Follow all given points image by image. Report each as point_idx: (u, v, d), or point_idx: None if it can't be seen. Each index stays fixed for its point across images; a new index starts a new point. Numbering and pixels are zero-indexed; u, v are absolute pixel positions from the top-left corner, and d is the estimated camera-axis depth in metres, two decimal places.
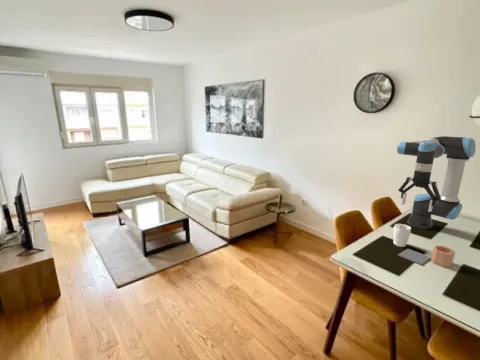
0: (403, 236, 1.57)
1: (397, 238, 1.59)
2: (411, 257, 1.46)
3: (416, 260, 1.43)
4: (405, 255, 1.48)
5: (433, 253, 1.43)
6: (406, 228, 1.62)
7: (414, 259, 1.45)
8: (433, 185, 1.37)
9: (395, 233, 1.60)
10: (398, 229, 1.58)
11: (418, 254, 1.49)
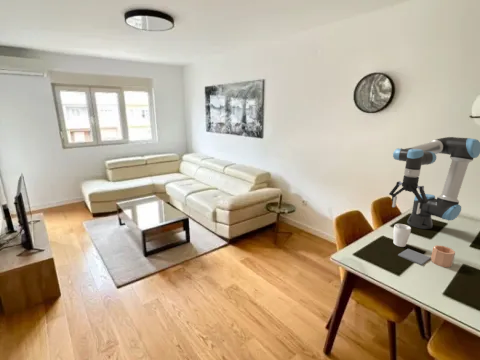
0: (403, 236, 1.57)
1: (397, 238, 1.59)
2: (411, 257, 1.46)
3: (416, 260, 1.43)
4: (405, 255, 1.48)
5: (433, 253, 1.43)
6: (406, 228, 1.62)
7: (414, 259, 1.45)
8: (420, 189, 1.47)
9: (395, 233, 1.60)
10: (398, 229, 1.58)
11: (418, 254, 1.49)
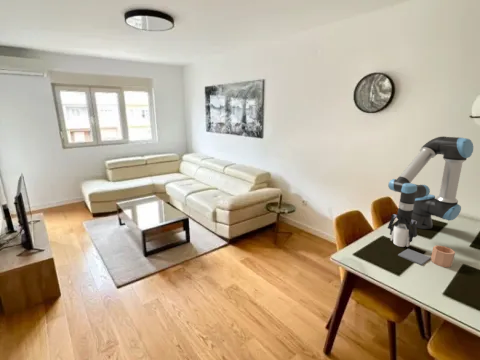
0: (403, 236, 1.57)
1: (397, 238, 1.59)
2: (411, 257, 1.46)
3: (416, 260, 1.43)
4: (405, 255, 1.48)
5: (433, 253, 1.43)
6: (406, 228, 1.62)
7: (414, 259, 1.45)
8: (413, 224, 1.53)
9: (395, 233, 1.60)
10: (398, 229, 1.58)
11: (418, 254, 1.49)
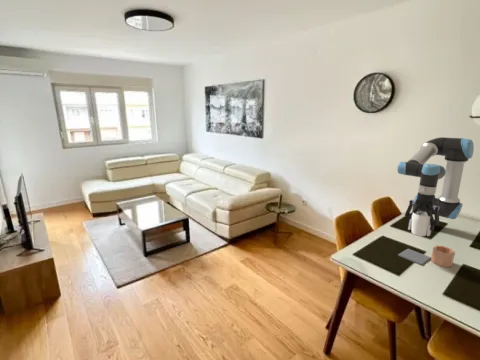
0: (424, 224, 1.39)
1: (416, 226, 1.41)
2: (411, 257, 1.46)
3: (416, 260, 1.43)
4: (405, 255, 1.48)
5: (433, 253, 1.43)
6: (425, 215, 1.44)
7: (414, 259, 1.45)
8: (436, 210, 1.35)
9: (414, 221, 1.42)
10: (418, 216, 1.39)
11: (418, 254, 1.49)
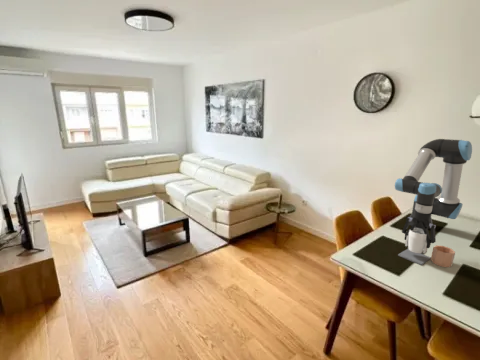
0: (420, 242, 1.41)
1: (413, 244, 1.44)
2: (411, 257, 1.46)
3: (416, 260, 1.43)
4: (405, 255, 1.48)
5: (433, 253, 1.43)
6: (422, 232, 1.47)
7: (414, 259, 1.45)
8: (432, 228, 1.38)
9: (411, 238, 1.44)
10: (414, 233, 1.42)
11: (418, 254, 1.49)
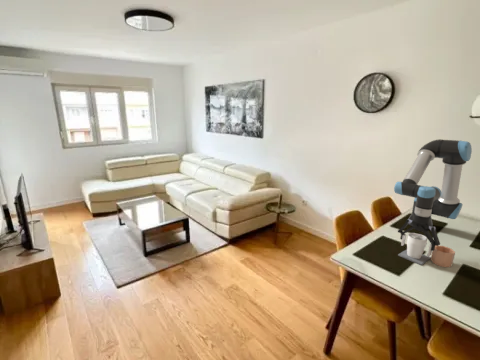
0: (419, 248, 1.42)
1: (412, 249, 1.45)
2: (411, 257, 1.46)
3: (416, 260, 1.43)
4: (405, 255, 1.48)
5: (433, 253, 1.43)
6: (421, 237, 1.48)
7: (414, 259, 1.45)
8: (432, 230, 1.38)
9: (409, 244, 1.45)
10: (413, 239, 1.43)
11: None
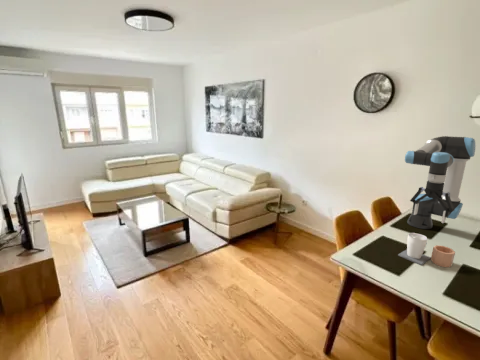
0: (419, 247, 1.42)
1: (412, 249, 1.45)
2: (411, 257, 1.46)
3: (416, 260, 1.43)
4: (405, 255, 1.48)
5: (433, 253, 1.43)
6: (421, 237, 1.48)
7: (414, 259, 1.45)
8: (446, 196, 1.35)
9: (409, 244, 1.45)
10: (413, 239, 1.43)
11: None
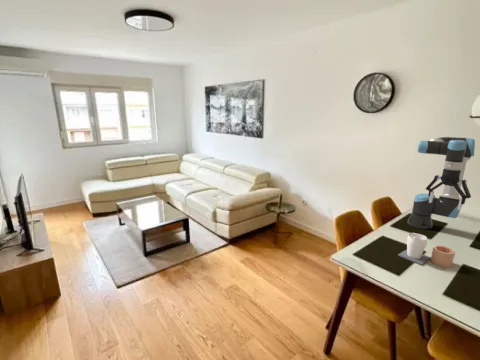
0: (419, 248, 1.42)
1: (412, 249, 1.45)
2: (411, 257, 1.46)
3: (416, 260, 1.43)
4: (405, 255, 1.48)
5: (433, 253, 1.43)
6: (421, 237, 1.48)
7: (414, 259, 1.45)
8: (463, 183, 1.38)
9: (409, 244, 1.45)
10: (413, 239, 1.43)
11: None
